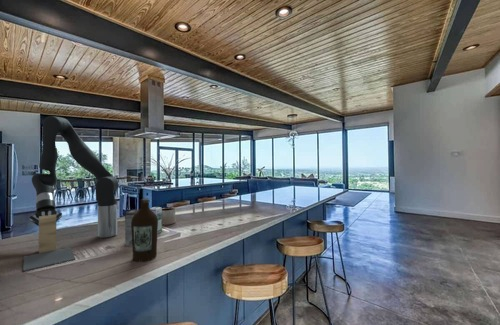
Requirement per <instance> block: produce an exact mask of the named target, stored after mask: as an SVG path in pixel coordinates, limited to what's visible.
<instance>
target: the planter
mask: <svg viewBox="0 0 500 325" xmlns="http://www.w3.org/2000/svg"><path fill="white" fill-rule="evenodd" d="M161 208H162V207H161ZM176 221H177V220H176V208H174V207H163V208H162V226H168V225H169V226H170V225H174V224H176Z"/></svg>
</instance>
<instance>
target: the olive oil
mask: <svg viewBox="0 0 500 325" xmlns="http://www.w3.org/2000/svg"><path fill="white" fill-rule="evenodd" d="M139 204H140V209H138V210H139V211H138V212H137V213H136V214H135V215H134V216H133V218H132V221H131V230H132V246H131V247H132V260H133V261H135V262H146V261H151V260H153V259H155V258H156V257H157V254H158V233H157V230H158V218H157V216H156V214H155V213H154V212H153V211H152V210H151V209H150V208H151V207H150V202H149V198H142V199H140V203H139Z"/></svg>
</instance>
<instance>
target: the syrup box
mask: <svg viewBox="0 0 500 325" xmlns="http://www.w3.org/2000/svg"><path fill="white" fill-rule="evenodd" d="M149 208H150V209H151V210H152V211H153V212H154V213H155V214H156V216H157V218H158V230H157V234H159V233H161V232H163V225H162V207H160V206H153V207H149Z"/></svg>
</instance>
